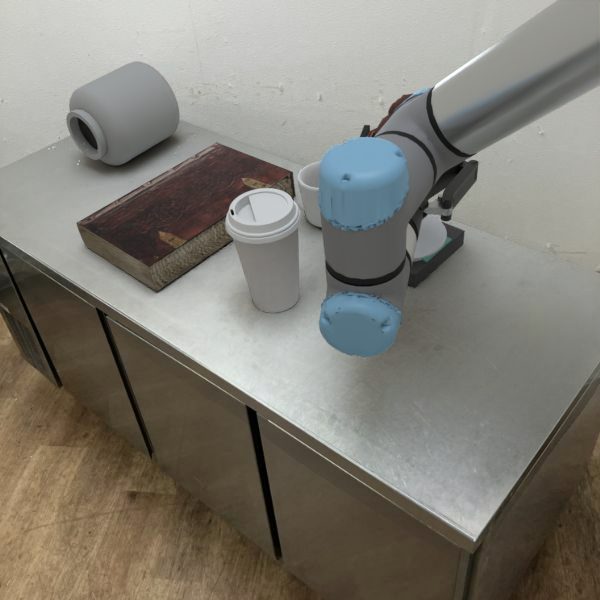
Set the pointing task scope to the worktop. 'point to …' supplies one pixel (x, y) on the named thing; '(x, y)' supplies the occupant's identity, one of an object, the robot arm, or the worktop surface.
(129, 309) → the worktop surface
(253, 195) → the coffee cup
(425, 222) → the scale
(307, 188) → the cup
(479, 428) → the worktop surface
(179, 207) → the hardback book
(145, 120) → the jar
